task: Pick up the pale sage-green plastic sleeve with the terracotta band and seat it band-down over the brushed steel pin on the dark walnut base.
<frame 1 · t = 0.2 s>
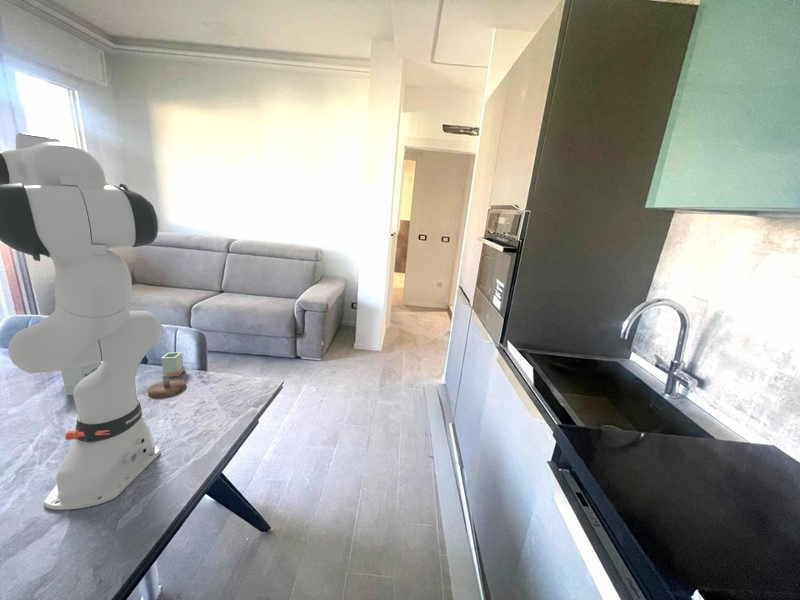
hand: (57, 244, 92), 52 cm above the table, tool tilted 20°, fingers open, 8 cm apart
sleeve: (174, 373, 125), on the table
supplement box: (87, 390, 112), on the table
pin base: (167, 389, 115), on the table
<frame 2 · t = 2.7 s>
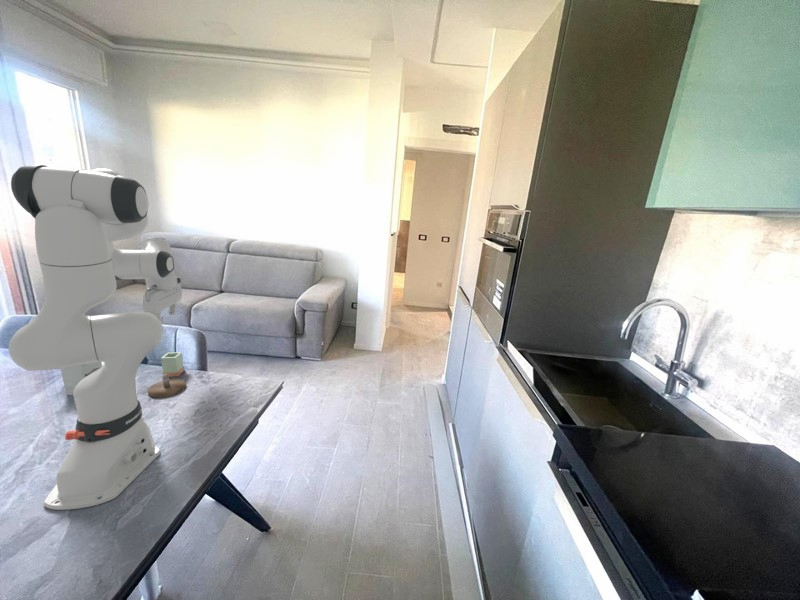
hand: (166, 318, 119), 23 cm above the table, tool pointing down, fingers open, 8 cm apart
nothing on the table moved.
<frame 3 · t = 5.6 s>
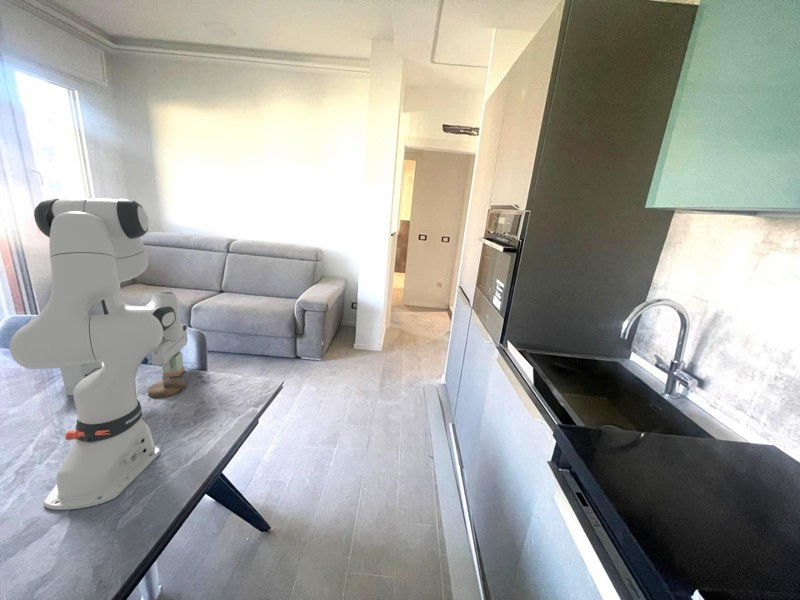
hand: (172, 365, 125), 4 cm above the table, tool pointing down, fingers closed on sleeve, 5 cm apart
sleeve: (174, 373, 125), on the table, touching gripper
everything else where it was.
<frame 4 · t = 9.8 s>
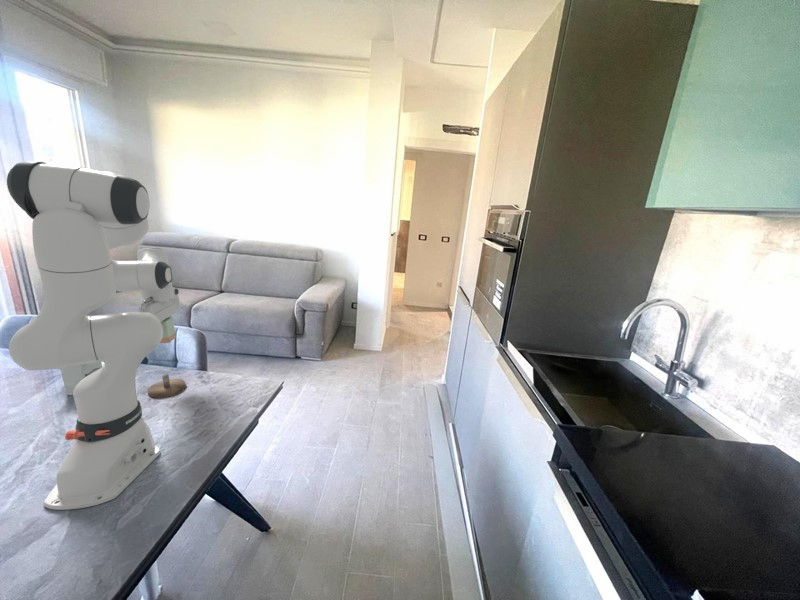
hand: (163, 331, 115), 20 cm above the table, tool pointing down, fingers closed on sleeve, 5 cm apart
sleeve: (164, 340, 116), point 17 cm above the table, touching gripper
everything else where it was.
when the fingers open (6 cm above the table, at t = 13.7 s): sleeve drops 1 cm, resting on pin base.
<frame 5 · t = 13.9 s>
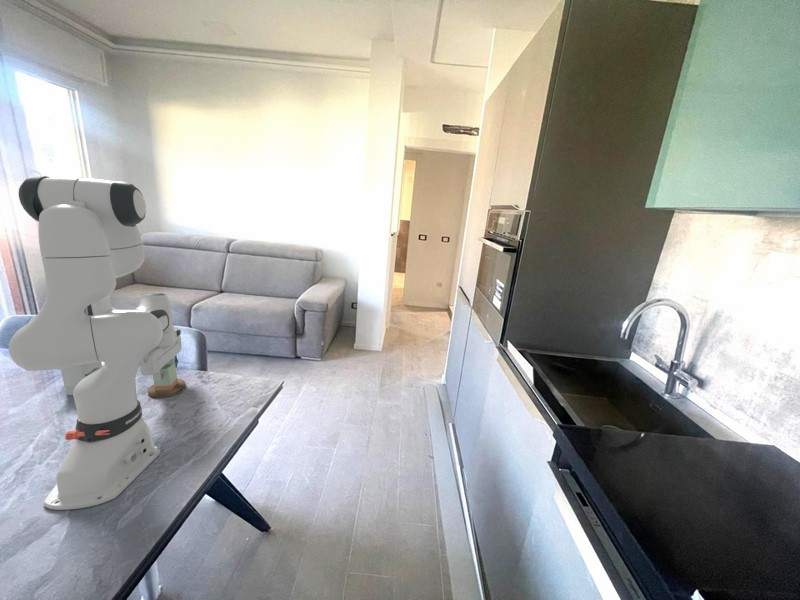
hand: (165, 374, 113), 6 cm above the table, tool pointing down, fingers open, 7 cm apart
sleeve: (166, 386, 114), point 1 cm above the table, touching pin base
everything else where it was.
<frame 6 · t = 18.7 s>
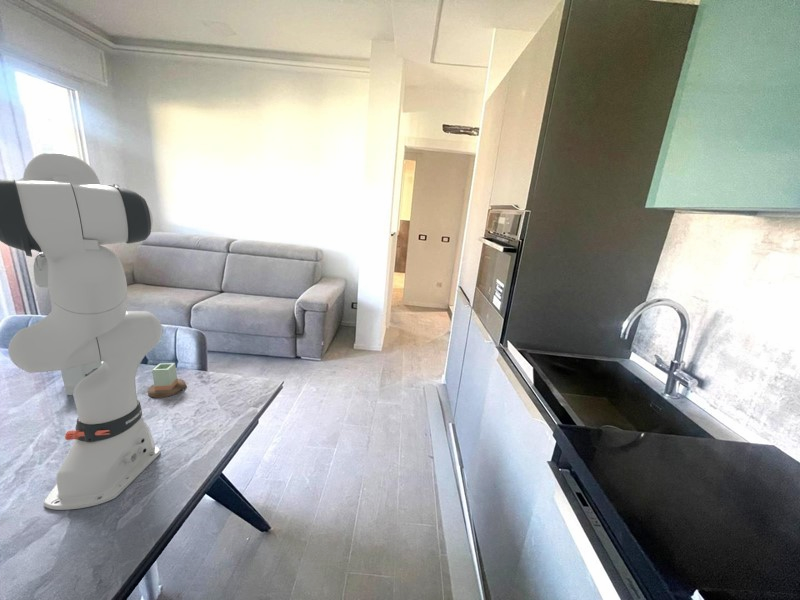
hand: (76, 295, 94), 37 cm above the table, tool pointing down, fingers open, 8 cm apart
nothing on the table moved.
at the end: sleeve 0.1 cm from the pin base (horizontally); sleeve point 1.2 cm above the table; sleeve tilted 0° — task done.
